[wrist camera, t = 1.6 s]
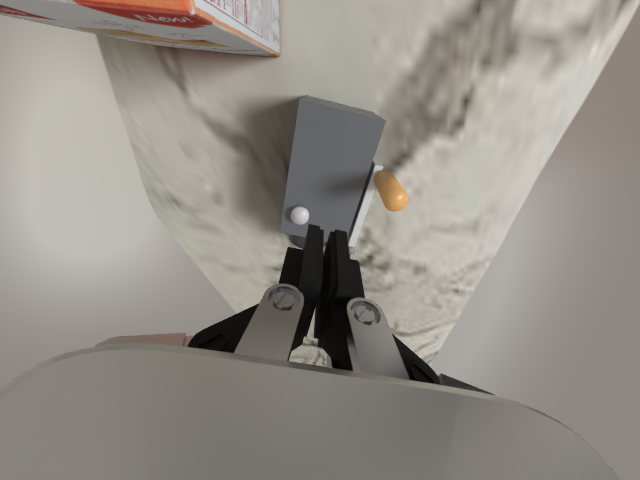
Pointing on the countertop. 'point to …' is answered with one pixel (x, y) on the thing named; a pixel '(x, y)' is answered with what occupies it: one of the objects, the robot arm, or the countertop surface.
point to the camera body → (328, 166)
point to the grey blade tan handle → (389, 194)
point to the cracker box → (165, 21)
